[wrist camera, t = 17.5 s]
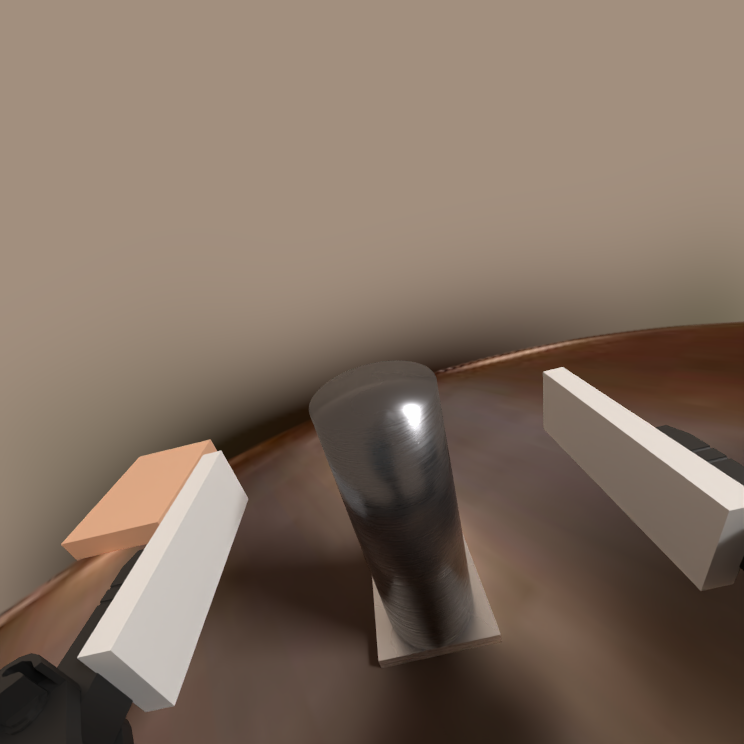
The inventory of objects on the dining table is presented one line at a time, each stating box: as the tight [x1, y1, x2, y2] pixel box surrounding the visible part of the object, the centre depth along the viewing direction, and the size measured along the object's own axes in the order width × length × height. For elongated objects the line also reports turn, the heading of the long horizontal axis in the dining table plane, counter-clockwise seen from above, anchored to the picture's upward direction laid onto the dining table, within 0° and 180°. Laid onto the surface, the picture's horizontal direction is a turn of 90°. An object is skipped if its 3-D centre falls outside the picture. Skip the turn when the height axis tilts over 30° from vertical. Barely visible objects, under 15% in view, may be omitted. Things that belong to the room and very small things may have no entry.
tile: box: [61, 440, 217, 560], centre depth 26 cm, size 7×2×9 cm
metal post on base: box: [309, 361, 502, 668], centre depth 15 cm, size 5×10×12 cm, turn 4°
